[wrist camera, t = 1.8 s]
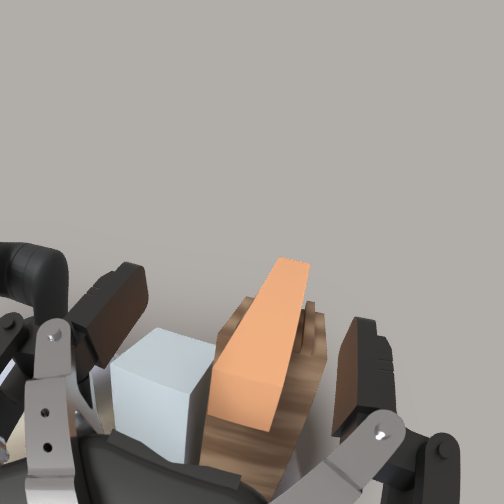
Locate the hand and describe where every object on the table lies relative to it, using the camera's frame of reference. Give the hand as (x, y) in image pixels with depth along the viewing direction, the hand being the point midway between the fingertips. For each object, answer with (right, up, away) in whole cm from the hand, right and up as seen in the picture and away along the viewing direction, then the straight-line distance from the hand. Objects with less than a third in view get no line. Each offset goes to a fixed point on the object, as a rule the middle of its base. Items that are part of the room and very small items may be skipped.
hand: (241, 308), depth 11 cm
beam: (+2, -6, +17) cm, 18 cm away
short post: (-14, -34, +28) cm, 46 cm away
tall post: (-2, -36, +26) cm, 45 cm away
